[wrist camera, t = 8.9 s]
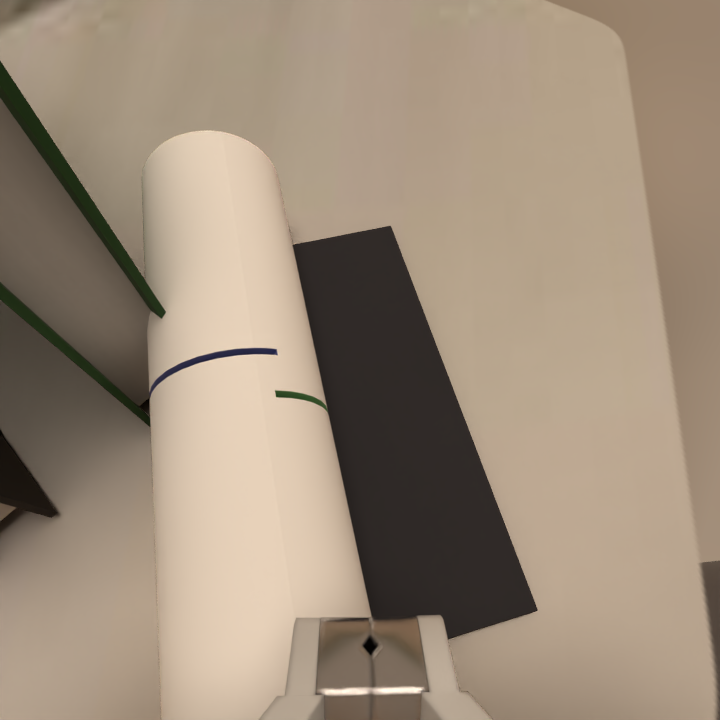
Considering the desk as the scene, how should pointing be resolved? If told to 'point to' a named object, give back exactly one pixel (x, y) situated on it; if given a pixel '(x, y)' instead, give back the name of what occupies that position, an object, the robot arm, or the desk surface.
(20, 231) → the ring binders
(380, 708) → the robot arm
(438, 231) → the desk surface
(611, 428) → the desk surface
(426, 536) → the mat
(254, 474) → the cylindrical container
